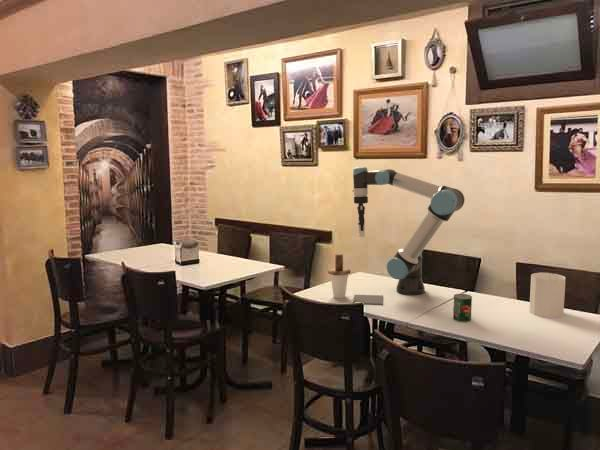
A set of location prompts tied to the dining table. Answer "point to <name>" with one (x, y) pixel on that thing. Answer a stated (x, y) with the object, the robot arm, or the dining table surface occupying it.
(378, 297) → the mat
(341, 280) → the foam cup
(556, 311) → the container
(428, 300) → the dining table surface
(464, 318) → the canned tomato
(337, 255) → the lid
